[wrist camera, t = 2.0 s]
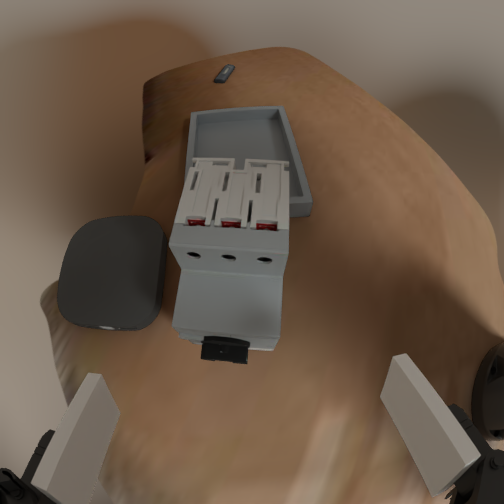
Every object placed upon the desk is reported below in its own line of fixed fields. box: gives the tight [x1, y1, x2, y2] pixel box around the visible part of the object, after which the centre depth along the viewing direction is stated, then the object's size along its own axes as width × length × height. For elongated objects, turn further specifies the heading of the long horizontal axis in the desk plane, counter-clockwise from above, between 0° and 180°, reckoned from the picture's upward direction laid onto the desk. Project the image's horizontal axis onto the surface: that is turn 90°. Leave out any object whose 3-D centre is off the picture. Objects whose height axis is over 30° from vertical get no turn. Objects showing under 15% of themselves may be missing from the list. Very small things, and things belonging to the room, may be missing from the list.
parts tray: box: [184, 106, 313, 217], centre depth 40 cm, size 22×16×3 cm
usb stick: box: [214, 64, 235, 83], centre depth 55 cm, size 10×3×2 cm, turn 167°
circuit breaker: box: [169, 158, 289, 364], centre depth 24 cm, size 8×14×15 cm, turn 175°
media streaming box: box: [57, 216, 167, 331], centre depth 31 cm, size 15×15×3 cm
